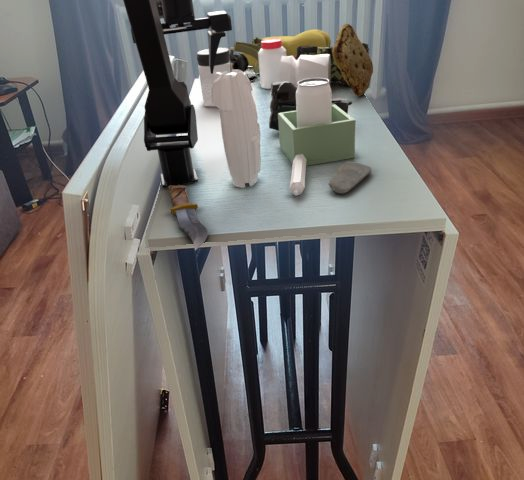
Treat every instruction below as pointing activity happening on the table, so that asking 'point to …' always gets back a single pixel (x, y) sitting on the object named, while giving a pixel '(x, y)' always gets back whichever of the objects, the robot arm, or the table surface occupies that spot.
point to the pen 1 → (252, 78)
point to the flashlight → (238, 125)
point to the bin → (318, 138)
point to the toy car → (335, 72)
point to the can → (313, 102)
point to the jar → (220, 66)
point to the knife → (187, 215)
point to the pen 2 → (339, 100)
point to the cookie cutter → (250, 50)
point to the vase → (305, 68)
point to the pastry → (352, 60)
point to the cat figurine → (288, 102)
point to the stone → (348, 176)
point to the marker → (298, 175)
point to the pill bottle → (270, 61)
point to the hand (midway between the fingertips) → (189, 76)
